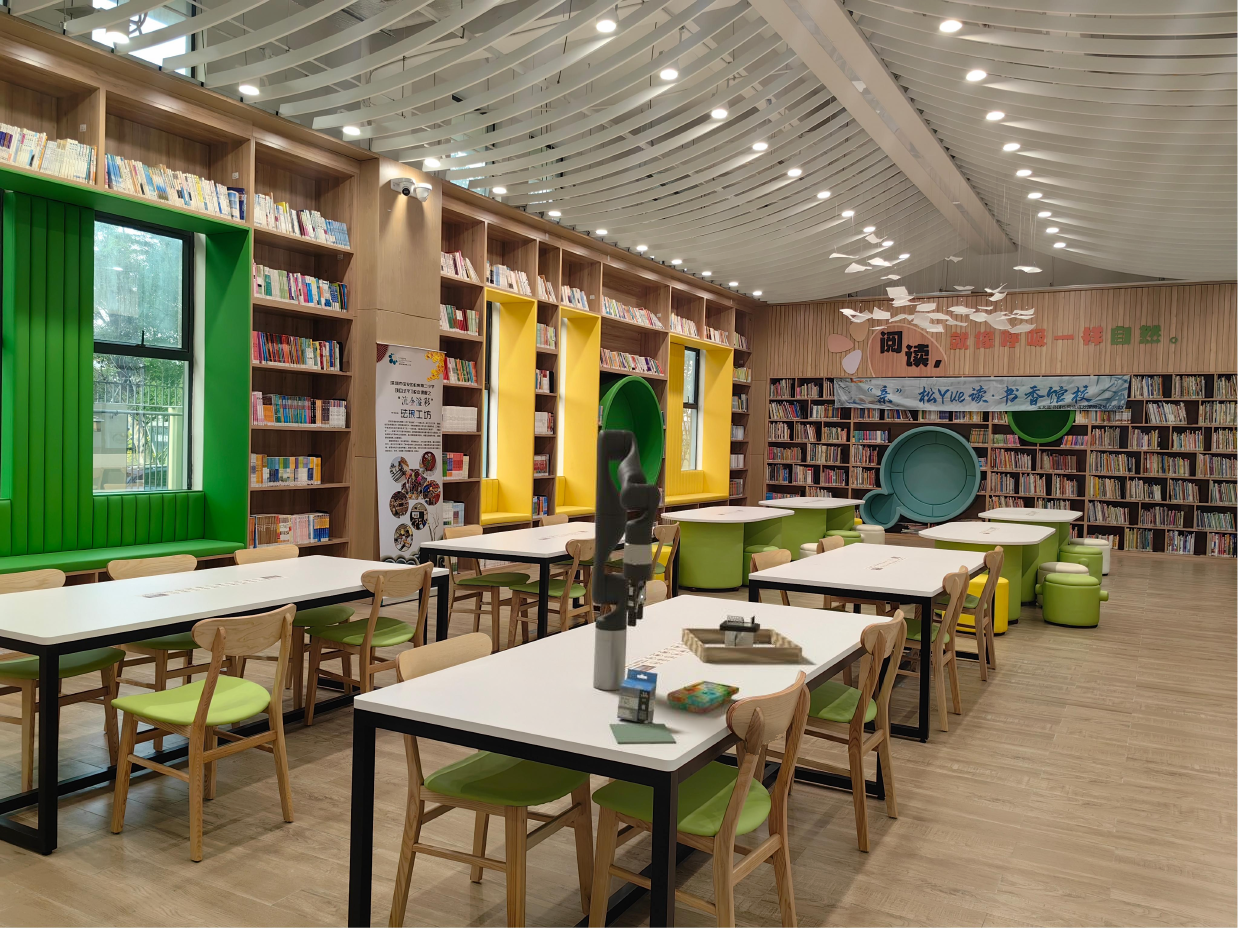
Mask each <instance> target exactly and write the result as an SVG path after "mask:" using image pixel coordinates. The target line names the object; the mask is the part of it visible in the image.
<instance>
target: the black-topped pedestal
mask: <svg viewBox="0 0 1238 928" xmlns="http://www.w3.org/2000/svg"><path fill="white" fill-rule="evenodd" d="M718 628H719V630H721V631H725V643H724V647H754V643H753V633H757V632H758V631H759V630H760V629H761V623H758V622H756V614H754V615H753V616H751V617H750V622H748V621H745V619H744V616H741V617H740V616H736V615H731V616H730V615H727V616H726V620H724V621H722V622H721V623H720V624H719V627H718Z"/></svg>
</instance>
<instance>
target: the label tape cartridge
mask: <svg viewBox="0 0 1238 928" xmlns="http://www.w3.org/2000/svg"><path fill="white" fill-rule="evenodd" d="M638 676H643V677H644V678H643V677H638ZM645 677H646V678H645ZM657 681H658V673H657V672H650V671H643V670H639V669H638V670H637V669H632V668H628V669H627V675H626V677H625V681H624V682H623V683H622V684H621V685H620V689H619V695H618V704H617V714H616V718H617V719H623V720H628V721H633V722H636V723H637V722H638V723H641V724H653V722H654V712H655V703H656V692H657Z"/></svg>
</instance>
